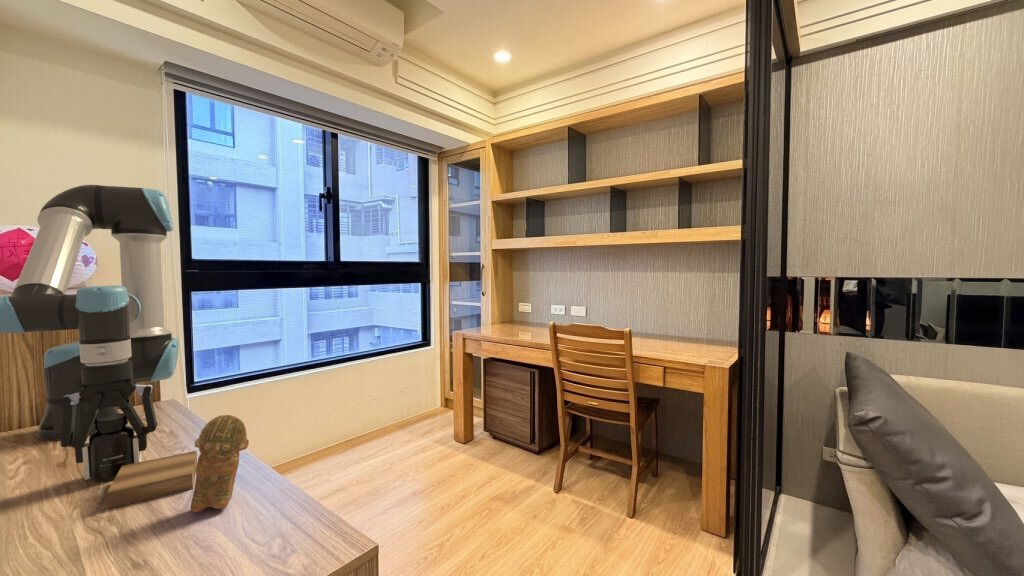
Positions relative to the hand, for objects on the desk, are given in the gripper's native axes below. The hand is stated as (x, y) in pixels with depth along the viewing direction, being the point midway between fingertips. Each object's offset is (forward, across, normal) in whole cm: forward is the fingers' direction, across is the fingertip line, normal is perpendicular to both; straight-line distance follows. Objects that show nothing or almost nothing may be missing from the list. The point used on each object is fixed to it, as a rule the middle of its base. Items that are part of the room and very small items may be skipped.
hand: (114, 471), depth 87 cm
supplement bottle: (+1, 0, 0) cm, 1 cm away
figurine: (+1, +19, -25) cm, 32 cm away
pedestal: (+1, +8, -10) cm, 13 cm away
